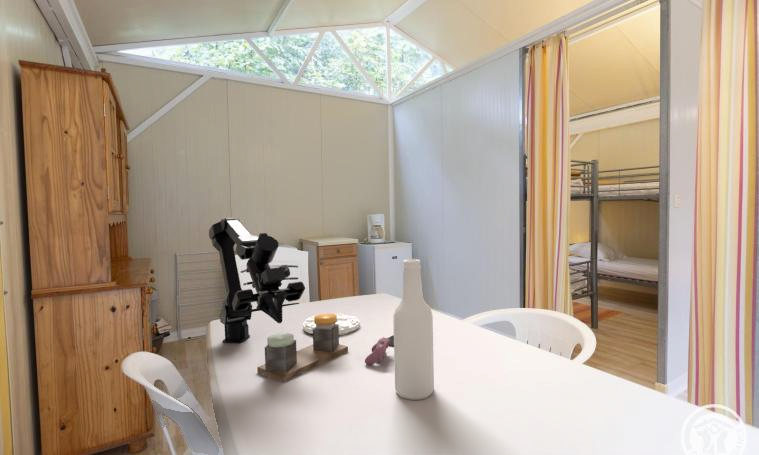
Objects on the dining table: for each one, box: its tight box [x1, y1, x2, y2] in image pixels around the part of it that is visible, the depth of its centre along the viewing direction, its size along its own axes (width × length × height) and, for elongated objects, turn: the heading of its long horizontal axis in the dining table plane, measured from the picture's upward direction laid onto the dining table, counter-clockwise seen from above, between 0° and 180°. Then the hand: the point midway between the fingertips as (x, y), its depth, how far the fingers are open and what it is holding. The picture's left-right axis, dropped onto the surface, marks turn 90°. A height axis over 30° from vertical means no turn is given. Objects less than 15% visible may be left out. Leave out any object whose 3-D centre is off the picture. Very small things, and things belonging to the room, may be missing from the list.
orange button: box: [314, 313, 338, 330], centre depth 112 cm, size 7×7×8 cm
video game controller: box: [364, 336, 390, 366], centre depth 106 cm, size 10×5×7 cm, turn 169°
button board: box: [257, 324, 349, 383], centre depth 105 cm, size 10×25×8 cm, turn 143°
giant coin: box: [302, 312, 361, 336], centre depth 136 cm, size 20×20×3 cm
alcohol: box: [392, 258, 435, 401], centre depth 86 cm, size 9×9×30 cm
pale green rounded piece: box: [266, 332, 295, 347], centre depth 99 cm, size 7×7×8 cm
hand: (280, 322), depth 98 cm, fingers closed
